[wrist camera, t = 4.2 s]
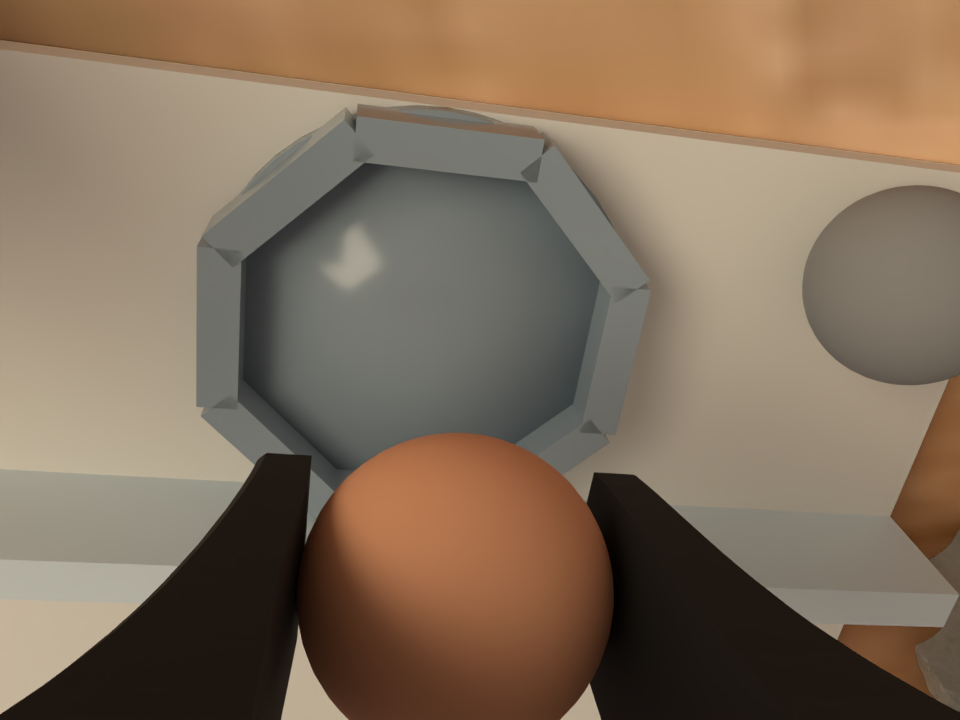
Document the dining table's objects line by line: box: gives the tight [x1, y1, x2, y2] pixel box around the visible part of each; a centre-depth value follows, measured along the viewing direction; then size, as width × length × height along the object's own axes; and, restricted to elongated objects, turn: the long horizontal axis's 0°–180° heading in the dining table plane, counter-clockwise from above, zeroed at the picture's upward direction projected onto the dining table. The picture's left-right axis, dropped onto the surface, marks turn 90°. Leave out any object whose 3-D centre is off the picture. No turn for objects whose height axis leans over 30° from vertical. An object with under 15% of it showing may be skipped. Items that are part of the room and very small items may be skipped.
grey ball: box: [802, 185, 960, 385], centre depth 17 cm, size 4×4×4 cm
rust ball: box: [296, 433, 614, 720], centre depth 11 cm, size 4×4×4 cm
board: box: [0, 40, 960, 720], centre depth 21 cm, size 18×23×1 cm
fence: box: [0, 469, 959, 627], centre depth 20 cm, size 1×23×3 cm, turn 81°
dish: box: [196, 104, 651, 518], centre depth 18 cm, size 9×9×2 cm
